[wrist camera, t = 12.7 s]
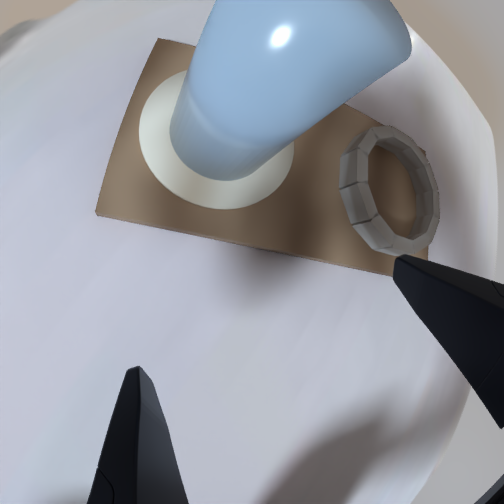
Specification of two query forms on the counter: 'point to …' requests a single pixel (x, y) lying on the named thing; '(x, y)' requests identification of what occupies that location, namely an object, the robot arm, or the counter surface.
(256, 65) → the pale blue cylinder
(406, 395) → the counter surface
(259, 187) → the tan flat slab
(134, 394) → the robot arm
